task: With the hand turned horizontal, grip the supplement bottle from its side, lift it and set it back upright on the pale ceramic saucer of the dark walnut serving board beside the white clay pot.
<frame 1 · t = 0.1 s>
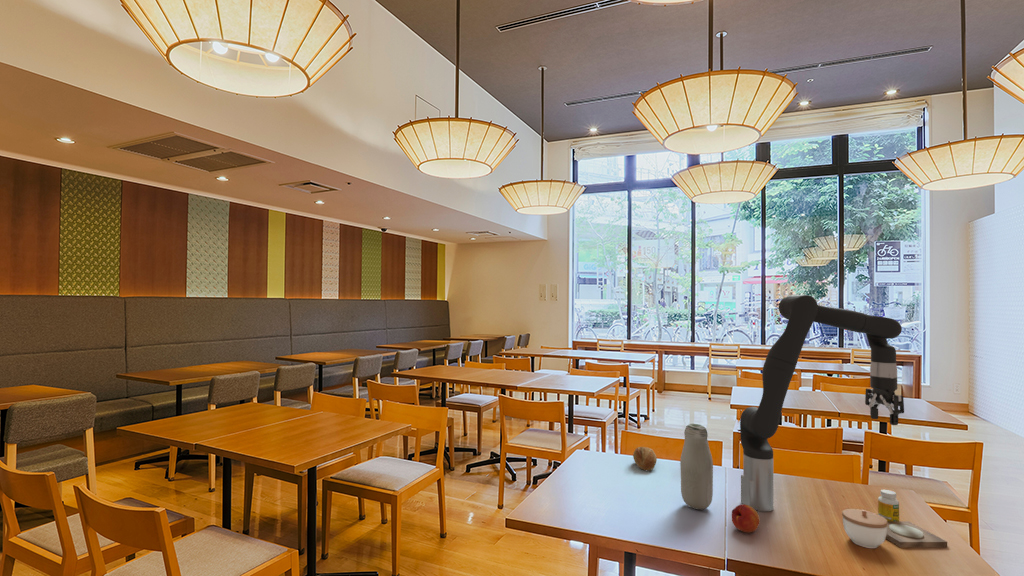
hand: (884, 421, 168), 29 cm above the table, tool pointing down, fingers open, 8 cm apart
supplement bottle: (888, 522, 154), on the table
bread roll: (644, 467, 204), on the table
serving board: (904, 536, 145), on the table
lidded jar: (864, 543, 140), on the table
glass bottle: (696, 508, 164), on the table
fruit: (745, 531, 147), on the table
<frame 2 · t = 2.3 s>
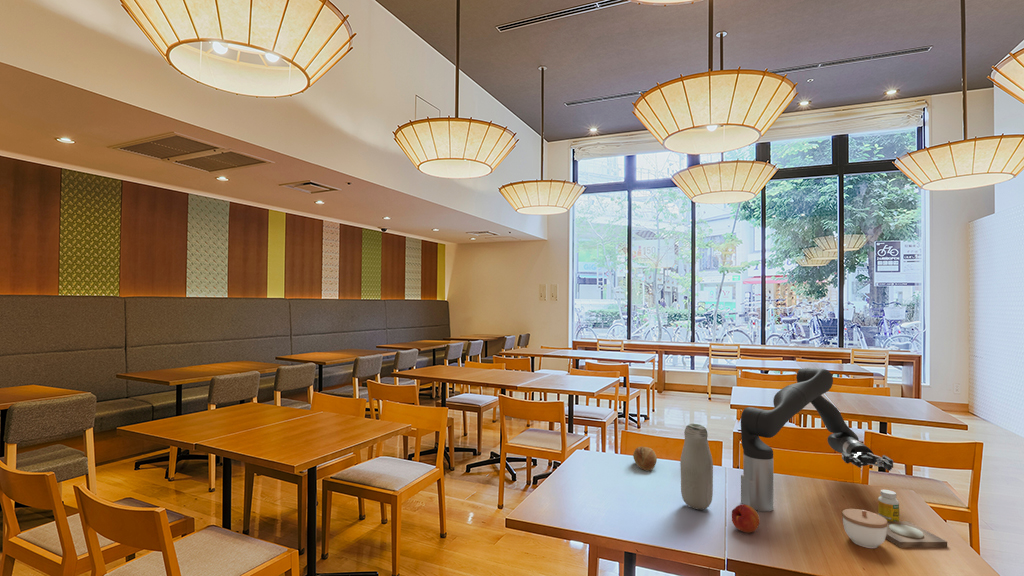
hand: (874, 466, 165), 14 cm above the table, tool horizontal, fingers open, 8 cm apart
nothing on the table moved.
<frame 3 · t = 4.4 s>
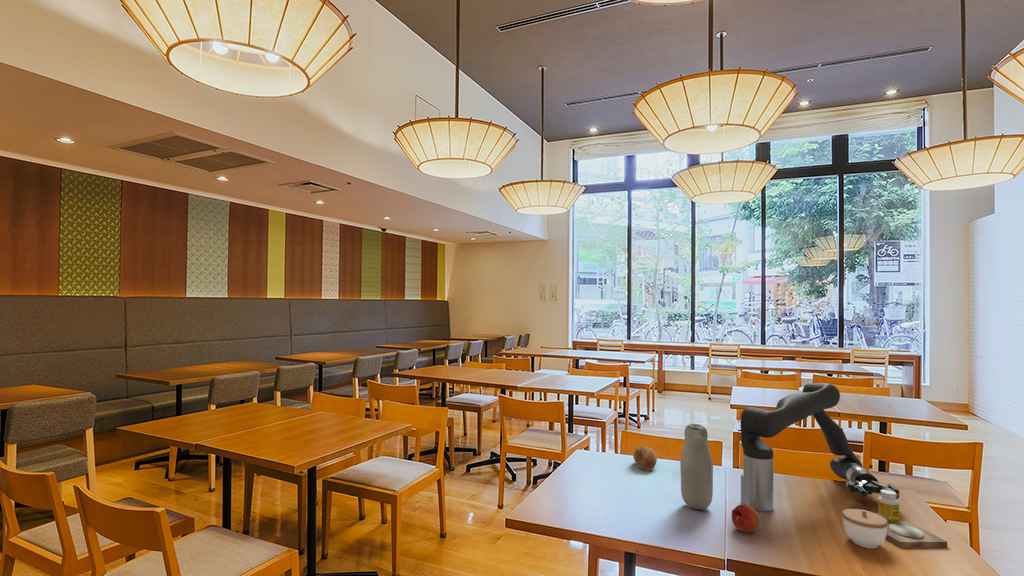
hand: (880, 496, 160), 6 cm above the table, tool horizontal, fingers open, 8 cm apart
nothing on the table moved.
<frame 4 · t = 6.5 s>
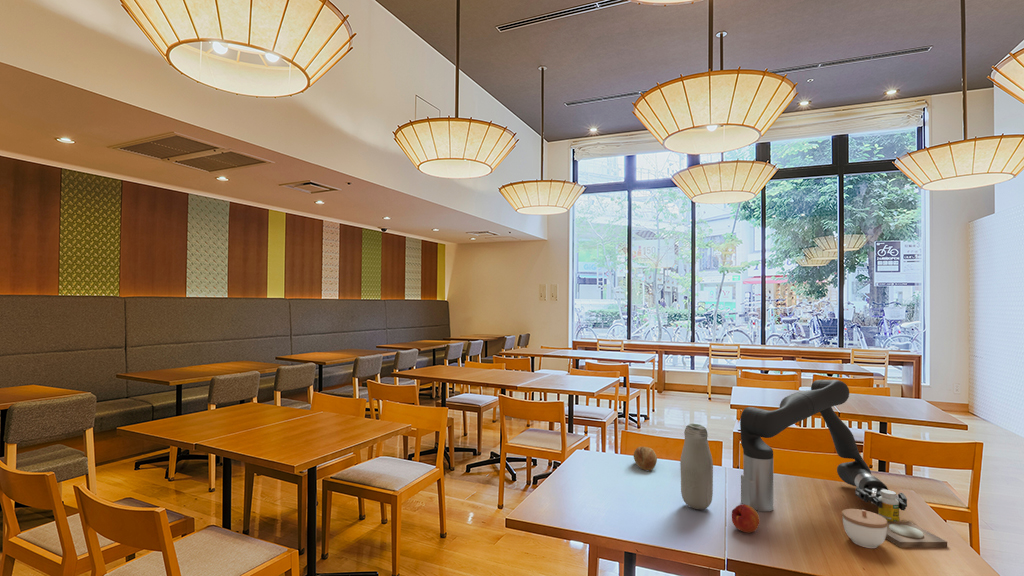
hand: (892, 506, 152), 6 cm above the table, tool horizontal, fingers closed on supplement bottle, 5 cm apart
supplement bottle: (888, 522, 154), on the table, touching gripper
everything else where it was.
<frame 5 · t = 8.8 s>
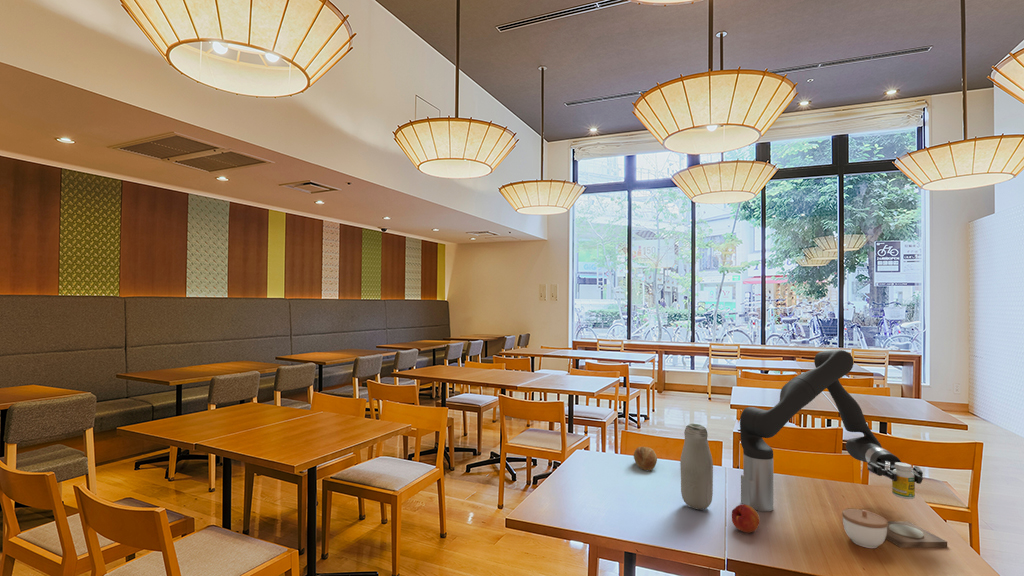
hand: (907, 479, 144), 18 cm above the table, tool horizontal, fingers closed on supplement bottle, 5 cm apart
supplement bottle: (903, 496, 146), point 11 cm above the table, touching gripper
everything else where it was.
when the fingers open (9 cm above the table, at t = 11.0 s): supplement bottle drops 1 cm, resting on serving board.
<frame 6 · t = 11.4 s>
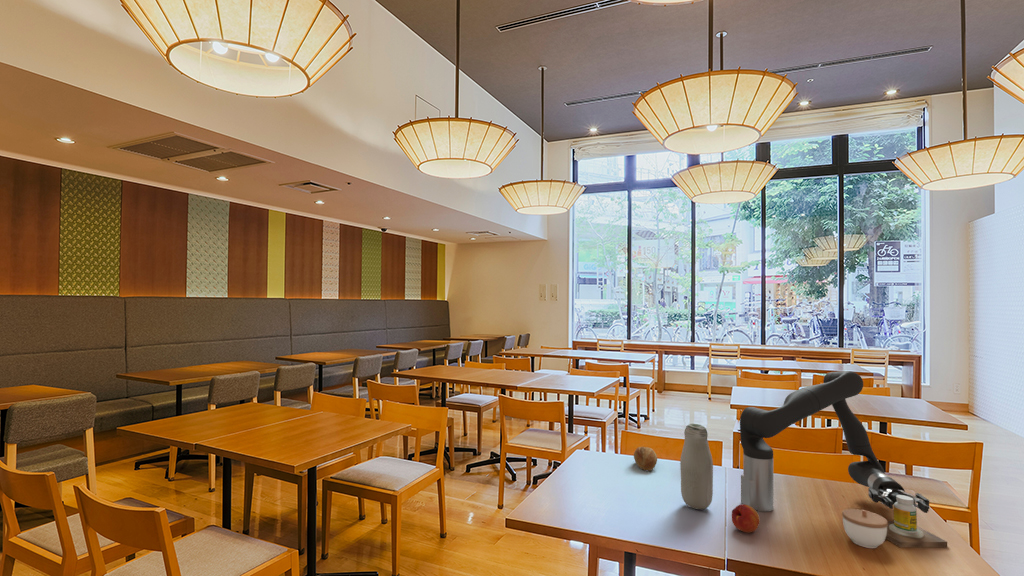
hand: (908, 507, 143), 10 cm above the table, tool horizontal, fingers open, 8 cm apart
supplement bottle: (905, 530, 145), point 2 cm above the table, touching serving board
everything else where it was.
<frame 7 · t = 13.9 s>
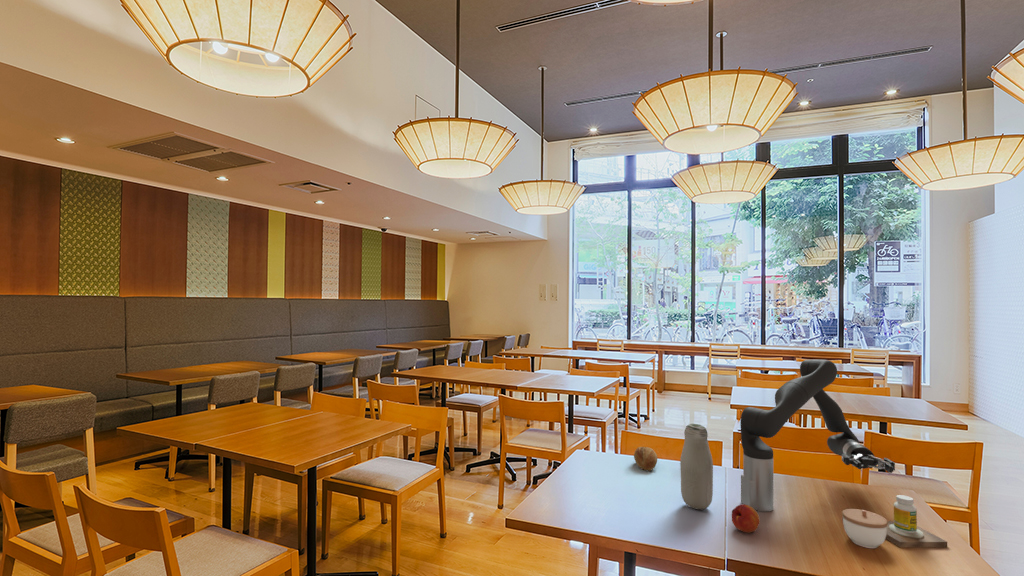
hand: (875, 468, 159), 16 cm above the table, tool horizontal, fingers open, 8 cm apart
nothing on the table moved.
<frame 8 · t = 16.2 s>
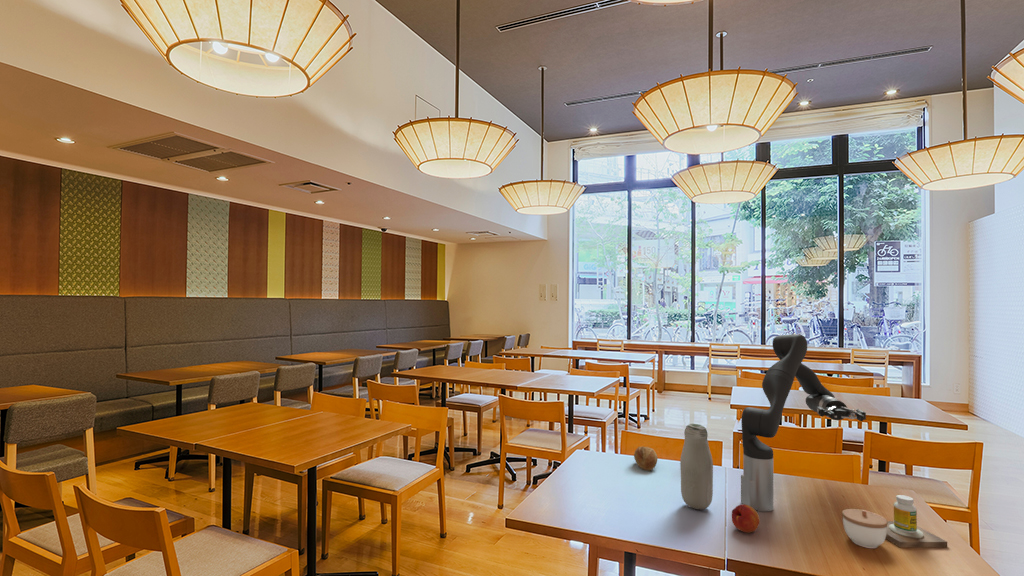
hand: (847, 417, 170), 30 cm above the table, tool horizontal, fingers open, 8 cm apart
nothing on the table moved.
at the end: supplement bottle inside the target area on the serving board (0.2 cm from its centre), point 1.9 cm above the serving board's base; supplement bottle tilted 0°; the gripper is holding nothing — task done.
